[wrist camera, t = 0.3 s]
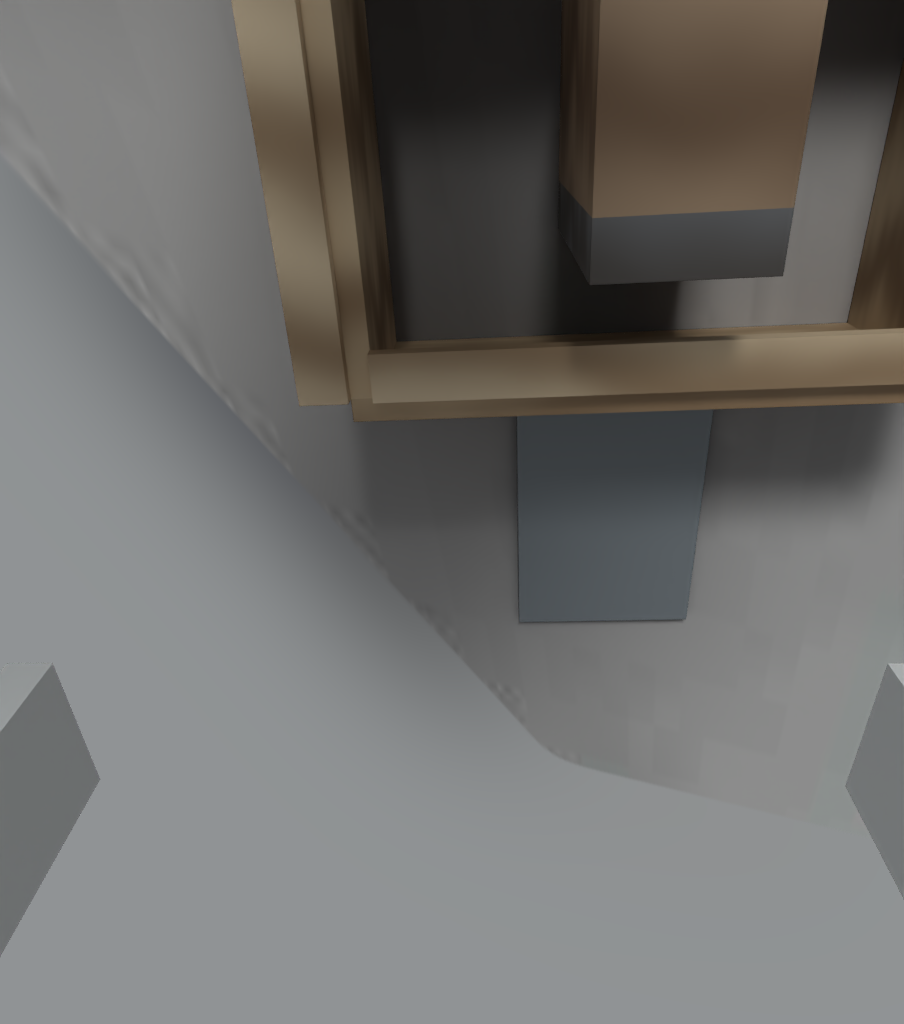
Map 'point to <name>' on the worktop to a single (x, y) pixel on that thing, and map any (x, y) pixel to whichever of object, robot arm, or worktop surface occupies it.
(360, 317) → the wooden crate
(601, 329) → the worktop surface
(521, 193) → the worktop surface
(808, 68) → the block
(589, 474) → the mat
